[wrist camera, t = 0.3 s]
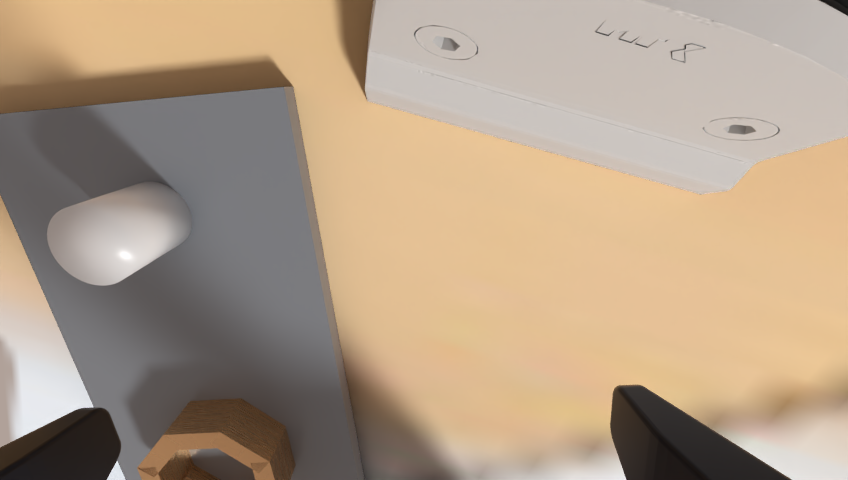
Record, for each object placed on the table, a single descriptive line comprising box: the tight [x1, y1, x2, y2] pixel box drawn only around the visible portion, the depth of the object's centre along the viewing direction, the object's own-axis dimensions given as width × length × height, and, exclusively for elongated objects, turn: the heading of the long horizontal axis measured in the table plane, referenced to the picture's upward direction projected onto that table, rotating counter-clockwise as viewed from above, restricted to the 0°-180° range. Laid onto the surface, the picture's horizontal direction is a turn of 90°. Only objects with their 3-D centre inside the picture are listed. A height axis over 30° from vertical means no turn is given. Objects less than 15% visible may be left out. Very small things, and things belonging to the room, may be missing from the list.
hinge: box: [365, 0, 848, 194], centre depth 14 cm, size 17×5×10 cm, turn 75°
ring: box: [137, 398, 296, 480], centre depth 23 cm, size 7×7×2 cm
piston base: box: [0, 87, 365, 480], centre depth 21 cm, size 24×14×5 cm, turn 5°
